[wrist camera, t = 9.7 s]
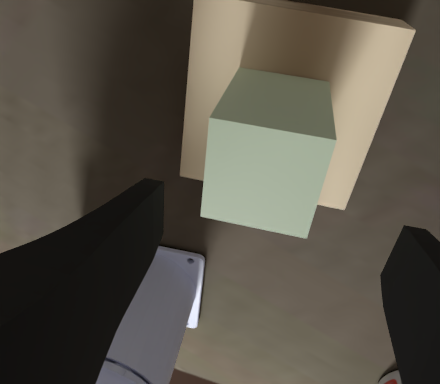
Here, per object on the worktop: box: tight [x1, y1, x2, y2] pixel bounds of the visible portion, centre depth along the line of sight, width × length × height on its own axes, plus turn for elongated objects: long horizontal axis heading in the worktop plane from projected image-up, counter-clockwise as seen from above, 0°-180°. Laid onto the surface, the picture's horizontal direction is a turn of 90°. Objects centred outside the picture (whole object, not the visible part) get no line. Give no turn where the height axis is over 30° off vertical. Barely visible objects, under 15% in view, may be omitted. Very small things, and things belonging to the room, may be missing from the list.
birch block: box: [180, 0, 416, 210], centre depth 19 cm, size 9×9×3 cm
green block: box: [200, 67, 337, 239], centre depth 15 cm, size 4×4×6 cm
